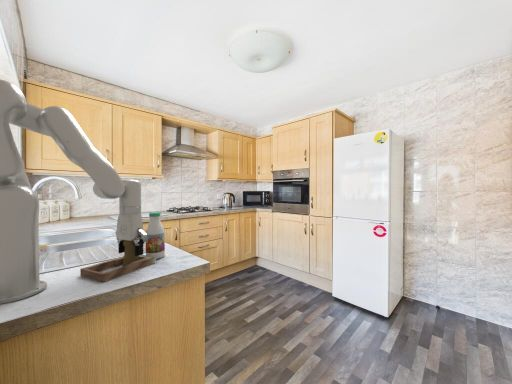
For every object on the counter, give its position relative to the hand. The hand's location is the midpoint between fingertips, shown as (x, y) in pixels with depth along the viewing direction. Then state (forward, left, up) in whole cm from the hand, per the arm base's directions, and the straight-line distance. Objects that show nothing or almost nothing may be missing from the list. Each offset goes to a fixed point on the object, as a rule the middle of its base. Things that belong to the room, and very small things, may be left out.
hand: (130, 253), depth 85 cm
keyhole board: (-4, 0, -5) cm, 6 cm away
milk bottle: (+12, 0, -5) cm, 13 cm away
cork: (0, 0, -5) cm, 5 cm away
